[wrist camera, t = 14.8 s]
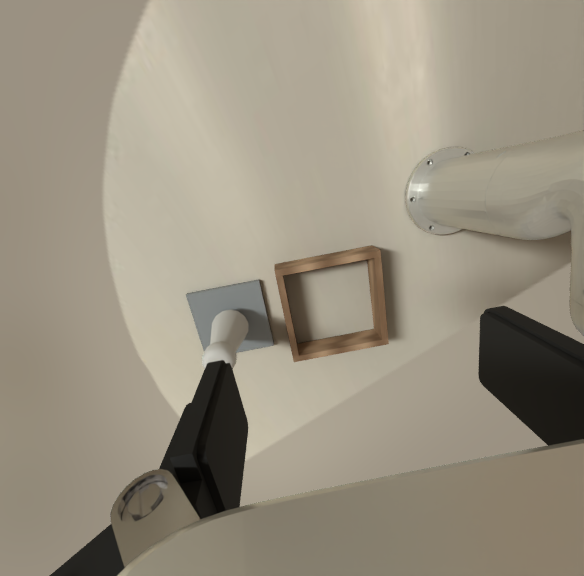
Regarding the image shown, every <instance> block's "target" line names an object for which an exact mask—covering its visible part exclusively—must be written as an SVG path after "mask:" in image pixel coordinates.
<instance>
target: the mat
mask: <svg viewBox="0 0 584 576" xmlns="http://www.w3.org/2000/svg"><path fill="white" fill-rule="evenodd" d="M186 297H187V300H188V303H189V306H190V309H191V312H192V315H193V318H194V321H195V325H196V328H197V331H198V334H199V337H200V340H201V343H202V346H203V349H204V352H205V350H206V348H207V347H208V346H209V345H210V340H211V329H212V322H213V320H214V318H215V316H216V315H218V314H219V313H221V312H222V311H225V310H236V311H239V312H240V313H241V314H243V315H244V316H245V318H246V320H247V321H248V333H247V335H246V337H245V339H244V340H243V342H242V343H241V345H240V346H239V348H238V349H237V351H236V353H237V352H242V351H248V350H253V349H258V348H263V347H268V346H274V342H273V337H272V333H271V329H270V324H269V320H268V316H267V311H266V307H265V303H264V298H263V294H262V290H261V285H260V281H259V280H254V281H249V282H244V283H238V284H233V285H228V286H223V287H218V288H213V289H207V290H202V291H197V292H192V293H187V294H186Z"/></svg>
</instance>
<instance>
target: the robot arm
mask: <svg viewBox="0 0 584 576" xmlns="http://www.w3.org/2000/svg"><path fill="white" fill-rule="evenodd" d="M464 155H465V156H464ZM427 161H428V164H427ZM411 198H412V200H411V201H410V199H411ZM405 203H406V208H407V212H408V214H409V216H410V218H411V220H412V221H413V222H414V224H415V225H417V226H418V227H419V228H420V229H422V230H424V231H426V232H429V233H432V234H437V235H446V234H451V233H454V232H457V231H460V230H461V229H467V230H472V231H478V232H483V233H488V234H494V235H499V236H505V237H511V238H516V239H522V240H542V239H547V238H551V237H555V236H559V235H561V234H564V233H566V232H569V231H571V247H572V255H571V278H570V314H571V318H572V321H573V323H574V325H575V327H576V328H577V330H578V331H579V332H580V333H581V334H582V335H583V336H584V130H582V131H578V132H574V133H570V134H566V135H562V136H558V137H553V138H549V139H544V140H539V141H534V142H529V143H524V144H519V145H514V146H510V147H505V148H500V149H495V150H490V151H485V152H480V153H474V152H473V151H471V150H469V149H466V148H463V147H448V148H444V149H441V150H438V151H436V152H433V153H432V154H430V155H429V156H427V157H426V158H424V159H423V160H422V161H421V162H420V163H419V164H418V166H417V167H416V168H415V169H414V171H413V173H412V175H411V176H410V178H409V181H408V184H407V188H406V194H405ZM429 227H430V228H429ZM479 379H480V382H481V383H482V385H483V386H484V387H485V388H486V389H487V390H488V391H490V392H491V393H492V394H493V395H494V396H495V397H496V398H497V399H498V400H499V401H500V402H502V403H503V404H504V405H505V406H506V407H507V408H508V409H509V410H510V411H511V412H512V413H513V414H515V415H516V416H517V417H518V418H519V419H520V420H521V421H522V422H523V423H524V424H526V425H527V426H528V427H529V428H530V429H531V430H532V431H533V432H534V433H535V434H536V435H537V436H538V437H540V438H541V439H542V440H543V441H544V442H545V443H546V444H547V445H548V446H544V447H538V448H533V449H527V450H522V451H517V452H511V453H506V454H500V455H495V456H490V457H484V458H479V459H474V460H469V461H463V462H458V463H453V464H448V465H442V466H437V467H432V468H427V469H422V470H417V471H411V472H406V473H401V474H395V475H390V476H385V477H381V478H376V479H370V480H365V481H360V482H355V483H350V484H345V485H340V486H335V487H330V488H324V489H319V490H314V491H310V492H305V493H300V494H295V495H291V496H286V497H281V498H277V499H272V500H267V501H263V502H258V503H254V504H250V505H246V506H242V507H239V506H240V496H241V488H242V480H243V470H244V462H245V453H246V444H247V436H248V422H247V418H246V415H245V411H244V408H243V404H242V401H241V398H240V394H239V391H238V387H237V384H236V381H235V377H234V374H233V370H232V367H231V364H230V363H225V361H224V360H220V361H214V362H209V363H207V365H206V368H205V370H204V373H203V375H202V378H201V380H200V383H199V385H198V388H197V390H196V393H195V395H194V398H193V400H192V403H189V404H187V405H186V407H185V409H184V411H183V414H182V416H181V418H180V421H179V423H178V425H177V428H176V430H175V433H174V435H173V437H172V440H171V442H170V445H169V447H168V449H167V452H166V454H165V457H164V459H163V461H162V463H161V466H160V468H159V469H158V470H152V471H149V472H146V473H144V474H143V475H141V476H139V477H137V478H136V479H134V480H133V481H132V482H131V483H130V484H129V485H127V486H126V487H125V488H124V490H123V491H122V492H121V493H120V494H119V496H118V497H117V499H116V501H115V502H114V504H113V507H112V510H111V514H110V517H111V525H109V526H108V527H107V528H106V529H105V530H103V531H102V532H101V533H100V534H99V535H98V536H96V537H95V538H94V539H93V540H92V541H91V542H89V543H88V544H87V545H86V546H84V548H82V549H81V550H80V551H79V552H77V553H76V554H75V555H74V556H73V557H71V558H70V559H69V560H68V561H67V562H65V563H64V564H63V565H62V566H61V567H60V568H58V569H57V570H56V571H55V572H54V573H52V574H51V575H50V576H584V344H582V343H580V342H578V341H576V340H574V339H572V338H570V337H568V336H566V335H564V334H562V333H560V332H558V331H555V330H553V329H551V328H549V327H547V326H545V325H543V324H541V323H539V322H537V321H535V320H533V319H530V318H529V317H527V316H525V315H523V314H520V313H518V312H516V311H514V310H512V309H510V308H508V307H506V306H500V307H495V308H490V309H486V310H485V312H484V314H482V315H481V317H480V347H479Z"/></svg>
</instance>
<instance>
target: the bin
mask: <svg viewBox="0 0 584 576" xmlns="http://www.w3.org/2000/svg"><path fill="white" fill-rule="evenodd" d="M366 259H367V264H368V273H369V283H370V293H371V303H372V312H373V322H374V329H371V330H366V331H361V332H356V333H351V334H345V335H340V336H335V337H330V338H325V339H319V340H314V341H309V342H304V343H299V344H297V341H296V336H295V331H294V326H293V322H292V317H291V312H290V307H289V302H288V297H287V292H286V287H285V282H284V277H283V275H289V274H294V273H299V272H304V271H309V270H314V269H320V268H325V267H330V266H335V265H340V264H345V263H351V262H356V261H361V260H366ZM275 275H276V280H277V284H278V289H279V294H280V299H281V303H282V308H283V313H284V318H285V322H286V327H287V332H288V336H289V341H290V346H291V351H292V355H293V360H294V362H297V361H302V360H308V359H313V358H318V357H323V356H328V355H334V354H339V353H344V352H349V351H354V350H360V349H365V348H370V347H375V346H380V345H386V344H389V343H388V331H387V320H386V308H385V296H384V285H383V273H382V261H381V250H379V249H378V248H376V247H374V246H367V247H362V248H356V249H351V250H346V251H341V252H336V253H331V254H325V255H320V256H315V257H310V258H305V259H300V260H294V261H289V262H284V263H279V264H275Z"/></svg>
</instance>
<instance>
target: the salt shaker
mask: <svg viewBox="0 0 584 576" xmlns="http://www.w3.org/2000/svg"><path fill="white" fill-rule="evenodd" d="M247 333H248V321H247V320H246V318H245V316H244V315H243V314H241V313H240V312H239V311H236V310H225V311H222V312H221V313H219V314H218V315H216V316H215V318H214V320H213V322H212V329H211V340H210V345H209V346H208V347H207V348H206V350H205V352H204V354H203V355H202V365H203V367H204V368H206V365H207V363H209V362H214V361H220V360H224V361H225V363H230V364H231V367H232V369H233V367H234V365H235V364H236V351H237V349H238V348H239V346H240V345H241V343H242V342H243V340H244V339H245V337H246V335H247Z"/></svg>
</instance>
